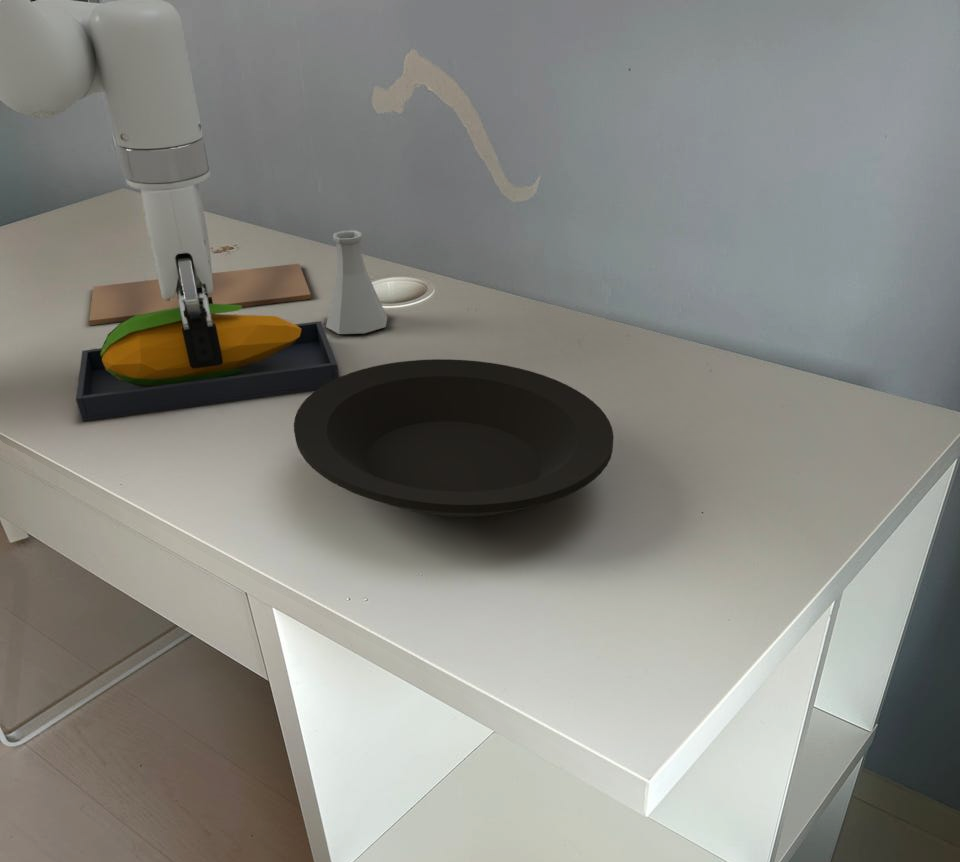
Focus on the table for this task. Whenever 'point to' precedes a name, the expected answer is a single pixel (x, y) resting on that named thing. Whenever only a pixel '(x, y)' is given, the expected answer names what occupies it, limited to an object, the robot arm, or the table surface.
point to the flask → (353, 290)
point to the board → (227, 289)
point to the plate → (453, 436)
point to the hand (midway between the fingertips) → (205, 349)
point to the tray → (209, 381)
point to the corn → (162, 351)
